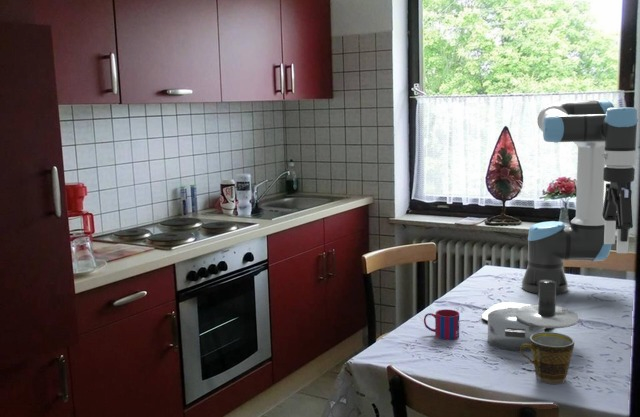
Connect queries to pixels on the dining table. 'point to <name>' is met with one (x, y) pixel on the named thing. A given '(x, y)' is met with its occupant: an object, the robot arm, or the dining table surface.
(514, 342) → the pot
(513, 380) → the dining table surface
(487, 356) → the dining table surface
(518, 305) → the plate
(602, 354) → the dining table surface
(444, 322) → the cup
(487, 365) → the dining table surface
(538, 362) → the ceramic cup
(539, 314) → the lid
